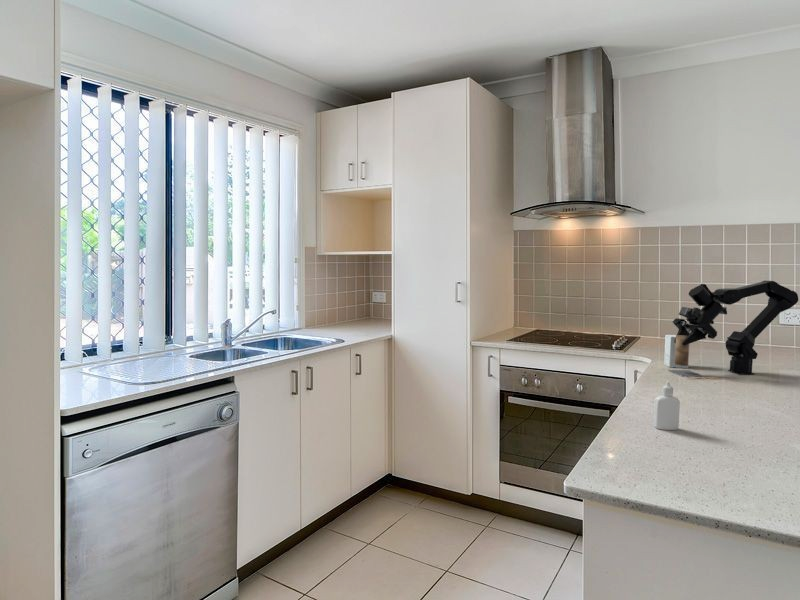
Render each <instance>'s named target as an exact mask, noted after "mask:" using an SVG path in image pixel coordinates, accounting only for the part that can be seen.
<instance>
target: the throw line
mask: <svg viewBox="0 0 800 600" xmlns="http://www.w3.org/2000/svg"><path fill="white" fill-rule="evenodd" d="M687 378H705V379H704V380H721V378H720V377H685V379H687ZM706 378H708V379H706Z"/></svg>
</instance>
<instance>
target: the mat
mask: <svg viewBox="0 0 800 600" xmlns="http://www.w3.org/2000/svg"><path fill="white" fill-rule="evenodd" d="M670 371H671V372H670ZM668 372H670V373H672V372H673V373H672V374H675V373H676V374H675V375H677V374H678V375H677V376H680V375H681V376H680V377H682V376H704V375H703V374H700V373H697V372H695V371H692V370H689V369H681V370H680V369H668Z"/></svg>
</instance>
